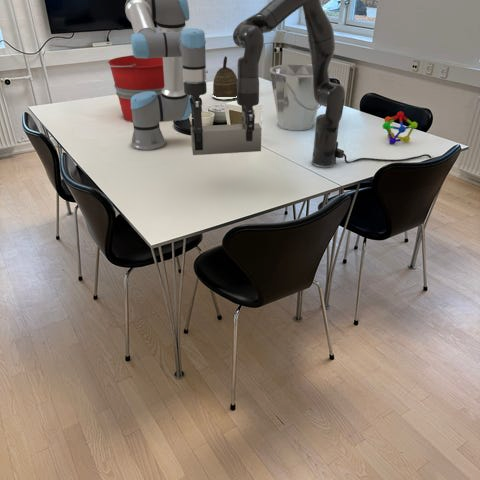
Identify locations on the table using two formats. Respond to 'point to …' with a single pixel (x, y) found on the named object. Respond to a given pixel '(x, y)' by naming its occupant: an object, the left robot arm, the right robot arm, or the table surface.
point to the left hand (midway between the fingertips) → (197, 142)
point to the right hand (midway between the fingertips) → (247, 137)
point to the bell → (225, 82)
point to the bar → (227, 139)
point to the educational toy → (398, 128)
